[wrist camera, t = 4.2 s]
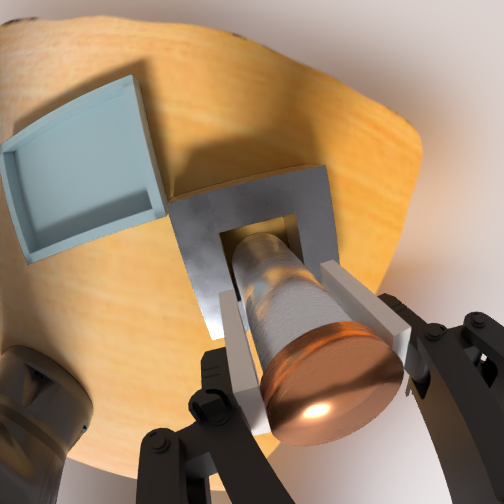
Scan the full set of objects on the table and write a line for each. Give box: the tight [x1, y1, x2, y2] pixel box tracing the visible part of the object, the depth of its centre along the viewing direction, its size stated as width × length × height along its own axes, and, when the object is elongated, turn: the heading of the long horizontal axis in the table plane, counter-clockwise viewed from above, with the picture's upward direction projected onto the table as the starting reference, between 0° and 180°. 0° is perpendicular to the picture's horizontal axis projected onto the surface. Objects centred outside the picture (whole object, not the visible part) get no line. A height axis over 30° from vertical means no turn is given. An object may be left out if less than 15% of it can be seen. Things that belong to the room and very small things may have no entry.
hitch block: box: [166, 164, 340, 340], centre depth 21 cm, size 11×11×4 cm
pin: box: [232, 233, 404, 446], centre depth 13 cm, size 5×5×13 cm
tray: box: [0, 75, 168, 265], centre depth 18 cm, size 14×11×2 cm
